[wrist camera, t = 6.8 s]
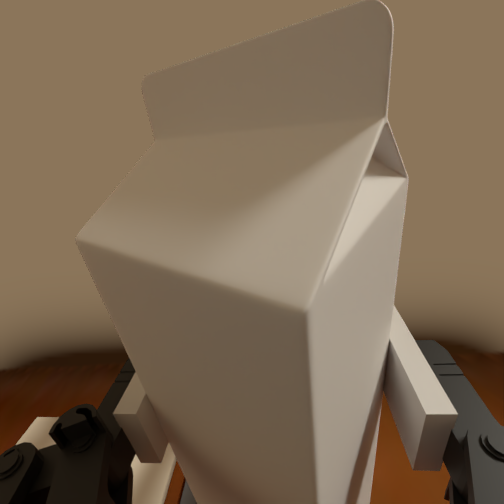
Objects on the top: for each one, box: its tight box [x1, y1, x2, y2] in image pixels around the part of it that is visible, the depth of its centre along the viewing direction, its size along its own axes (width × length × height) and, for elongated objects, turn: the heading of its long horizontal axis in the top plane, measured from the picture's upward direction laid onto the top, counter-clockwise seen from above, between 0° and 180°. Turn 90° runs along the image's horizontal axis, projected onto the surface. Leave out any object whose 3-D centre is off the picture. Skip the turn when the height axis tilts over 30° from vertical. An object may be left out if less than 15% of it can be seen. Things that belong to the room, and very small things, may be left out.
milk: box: [75, 0, 409, 504], centre depth 10 cm, size 6×6×22 cm
